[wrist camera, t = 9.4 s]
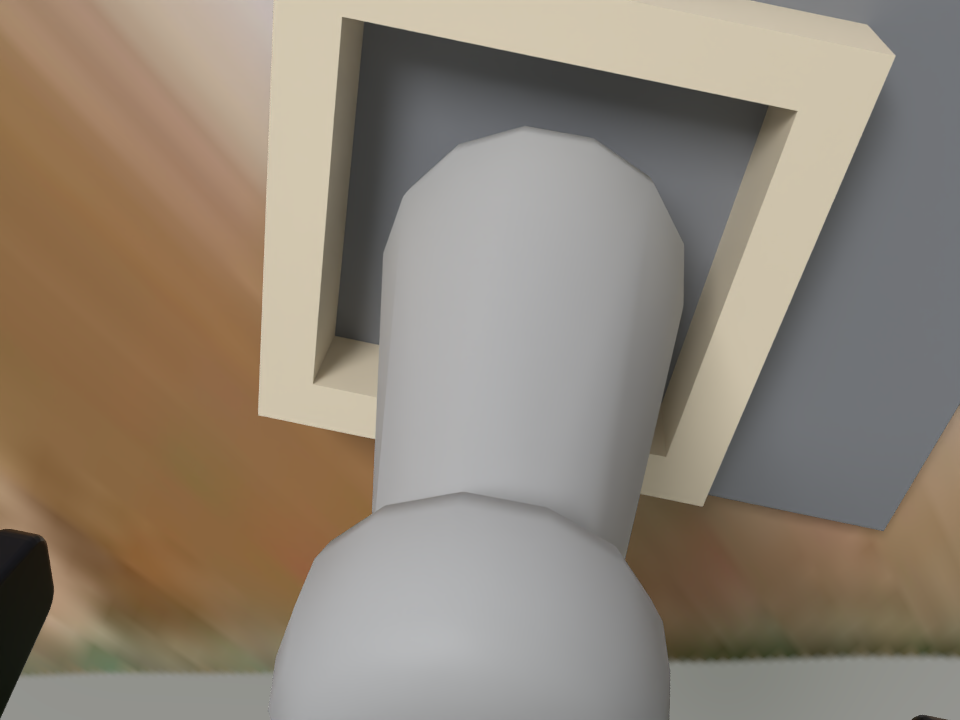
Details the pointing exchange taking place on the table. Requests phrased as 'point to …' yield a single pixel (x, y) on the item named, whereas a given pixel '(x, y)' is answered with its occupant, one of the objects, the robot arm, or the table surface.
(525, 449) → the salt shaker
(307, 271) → the build board
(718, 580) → the table surface
